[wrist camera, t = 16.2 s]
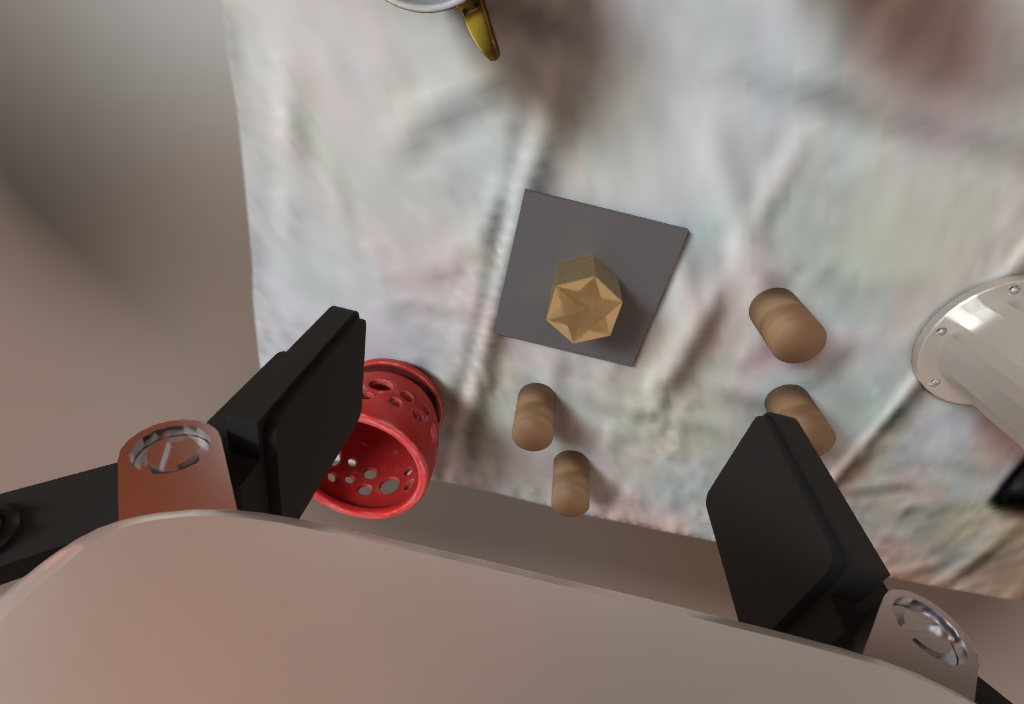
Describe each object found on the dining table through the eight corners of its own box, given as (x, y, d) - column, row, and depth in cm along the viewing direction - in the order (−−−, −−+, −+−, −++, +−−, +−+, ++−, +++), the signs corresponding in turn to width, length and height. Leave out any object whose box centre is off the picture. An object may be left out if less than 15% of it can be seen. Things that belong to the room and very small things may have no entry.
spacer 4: (816, 390, 47) (845, 430, 42) (795, 420, 49) (820, 462, 44) (776, 380, 47) (800, 419, 42) (757, 411, 49) (777, 452, 44)
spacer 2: (592, 455, 55) (594, 495, 50) (582, 479, 57) (583, 520, 52) (558, 447, 55) (556, 486, 50) (550, 471, 57) (547, 511, 52)
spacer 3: (806, 293, 42) (837, 326, 37) (783, 332, 44) (809, 368, 39) (762, 283, 42) (786, 314, 37) (741, 322, 44) (761, 356, 39)
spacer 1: (559, 388, 51) (557, 425, 46) (550, 416, 53) (547, 455, 48) (522, 379, 51) (516, 415, 45) (514, 408, 53) (507, 445, 48)
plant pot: (449, 448, 57) (420, 533, 47) (341, 425, 57) (289, 505, 47) (462, 358, 50) (432, 435, 40) (339, 331, 50) (278, 401, 40)
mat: (687, 228, 40) (688, 230, 40) (631, 363, 48) (631, 366, 47) (525, 188, 40) (524, 190, 40) (494, 330, 48) (493, 333, 47)
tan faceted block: (562, 246, 42) (561, 267, 38) (624, 261, 42) (629, 284, 38) (545, 309, 45) (541, 335, 41) (602, 323, 45) (604, 351, 41)
